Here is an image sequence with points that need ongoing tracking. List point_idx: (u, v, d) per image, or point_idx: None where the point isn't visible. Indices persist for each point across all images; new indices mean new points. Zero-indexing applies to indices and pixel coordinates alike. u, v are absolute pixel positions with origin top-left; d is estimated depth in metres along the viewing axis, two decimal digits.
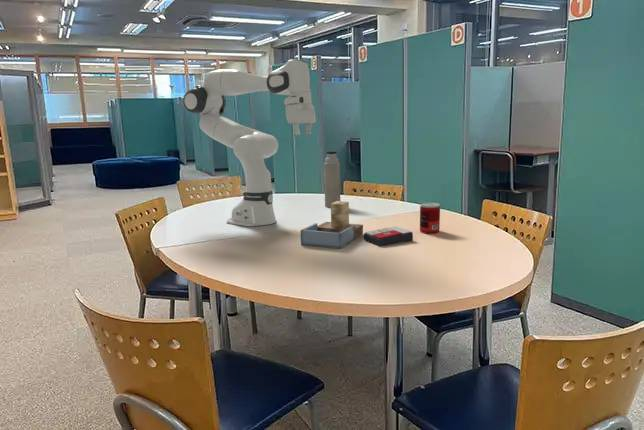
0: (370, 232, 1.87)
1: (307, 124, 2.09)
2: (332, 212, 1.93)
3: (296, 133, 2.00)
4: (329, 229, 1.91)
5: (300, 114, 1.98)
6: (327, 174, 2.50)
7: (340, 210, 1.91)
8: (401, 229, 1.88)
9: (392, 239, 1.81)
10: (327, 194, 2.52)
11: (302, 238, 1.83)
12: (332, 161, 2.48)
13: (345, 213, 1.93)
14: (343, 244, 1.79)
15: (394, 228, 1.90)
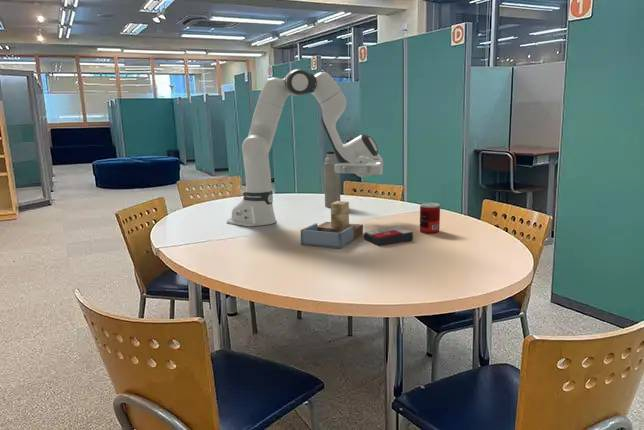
0: (370, 232, 1.87)
1: (346, 168, 2.07)
2: (332, 212, 1.93)
3: (361, 169, 2.01)
4: (329, 229, 1.91)
5: None
6: (327, 174, 2.50)
7: (340, 210, 1.91)
8: (401, 229, 1.88)
9: (392, 238, 1.81)
10: (327, 194, 2.52)
11: (302, 238, 1.83)
12: (332, 161, 2.48)
13: (345, 213, 1.93)
14: (343, 244, 1.79)
15: (395, 228, 1.91)
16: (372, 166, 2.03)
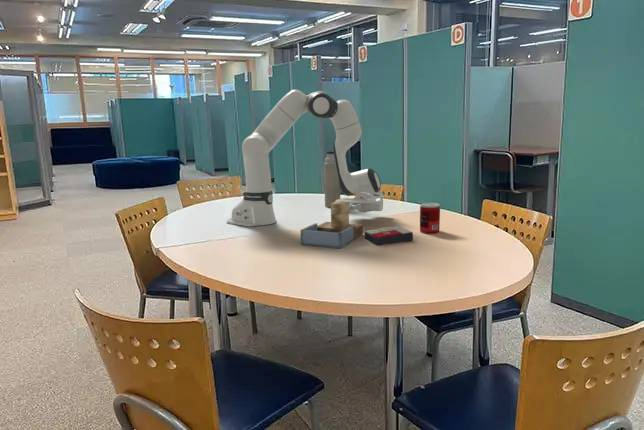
0: (370, 231, 1.88)
1: (353, 205, 2.09)
2: (332, 212, 1.93)
3: (355, 207, 2.05)
4: (329, 229, 1.91)
5: None
6: (327, 174, 2.50)
7: (340, 210, 1.91)
8: (402, 229, 1.88)
9: (391, 238, 1.82)
10: (327, 194, 2.52)
11: (302, 238, 1.83)
12: (332, 161, 2.48)
13: (345, 213, 1.93)
14: (343, 244, 1.79)
15: (396, 228, 1.91)
16: (372, 203, 2.06)
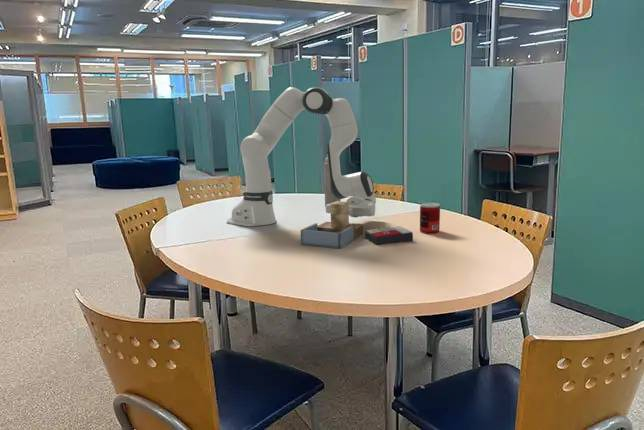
0: (371, 230, 1.89)
1: None
2: (332, 212, 1.92)
3: None
4: (329, 229, 1.91)
5: None
6: (327, 174, 2.50)
7: (340, 210, 1.91)
8: (403, 229, 1.88)
9: (390, 238, 1.82)
10: (327, 194, 2.52)
11: (302, 238, 1.83)
12: None
13: (345, 213, 1.93)
14: (343, 244, 1.79)
15: (397, 228, 1.91)
16: (364, 208, 1.98)
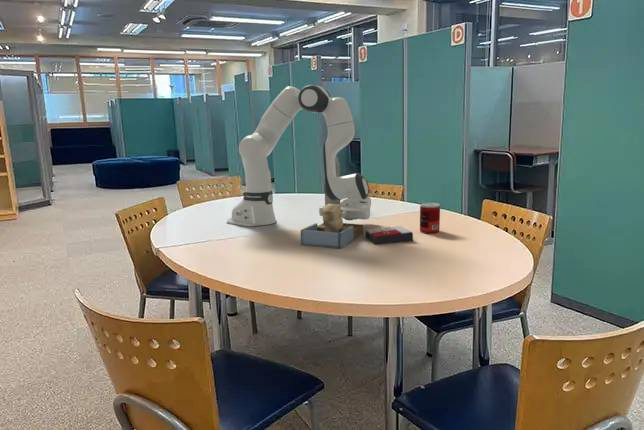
0: (371, 230, 1.89)
1: None
2: (324, 219, 1.86)
3: None
4: None
5: None
6: None
7: (332, 217, 1.84)
8: (403, 229, 1.88)
9: (390, 238, 1.82)
10: None
11: (302, 238, 1.83)
12: None
13: (338, 218, 1.87)
14: (343, 244, 1.79)
15: (397, 228, 1.91)
16: (358, 211, 1.92)
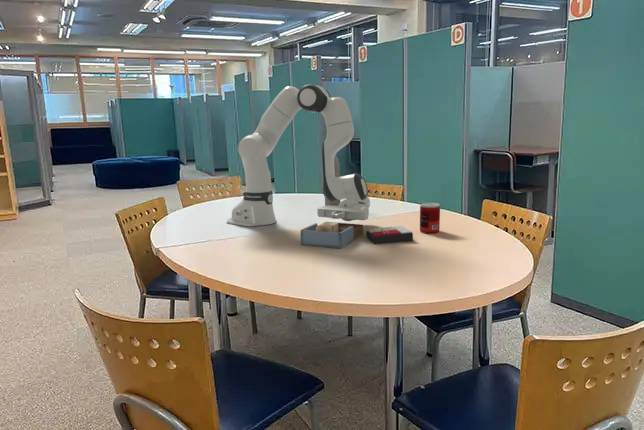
0: (372, 230, 1.90)
1: (336, 213, 1.94)
2: None
3: (338, 215, 1.90)
4: None
5: None
6: None
7: None
8: (404, 229, 1.88)
9: (389, 237, 1.83)
10: None
11: (302, 238, 1.83)
12: None
13: None
14: (343, 244, 1.79)
15: (398, 227, 1.91)
16: (357, 212, 1.91)
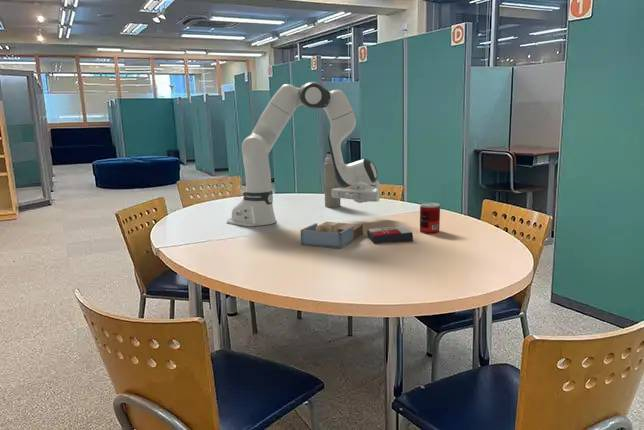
0: (372, 229, 1.91)
1: None
2: None
3: (352, 196, 2.02)
4: None
5: None
6: (327, 174, 2.50)
7: None
8: (404, 229, 1.88)
9: (389, 237, 1.83)
10: (327, 194, 2.52)
11: (302, 238, 1.83)
12: (332, 161, 2.48)
13: None
14: (343, 244, 1.79)
15: (399, 227, 1.91)
16: (369, 193, 2.03)
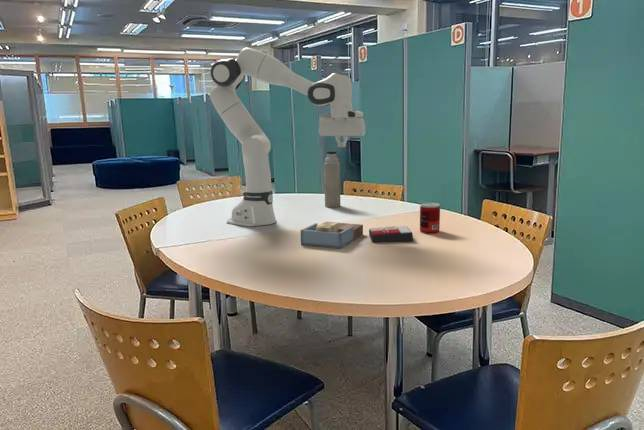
0: (374, 228, 1.92)
1: (339, 137, 2.09)
2: None
3: (344, 145, 2.08)
4: None
5: None
6: (327, 174, 2.50)
7: None
8: (405, 229, 1.88)
9: (388, 237, 1.84)
10: (327, 194, 2.52)
11: (302, 238, 1.83)
12: (332, 161, 2.48)
13: None
14: (343, 244, 1.79)
15: (401, 227, 1.91)
16: (357, 135, 2.04)
